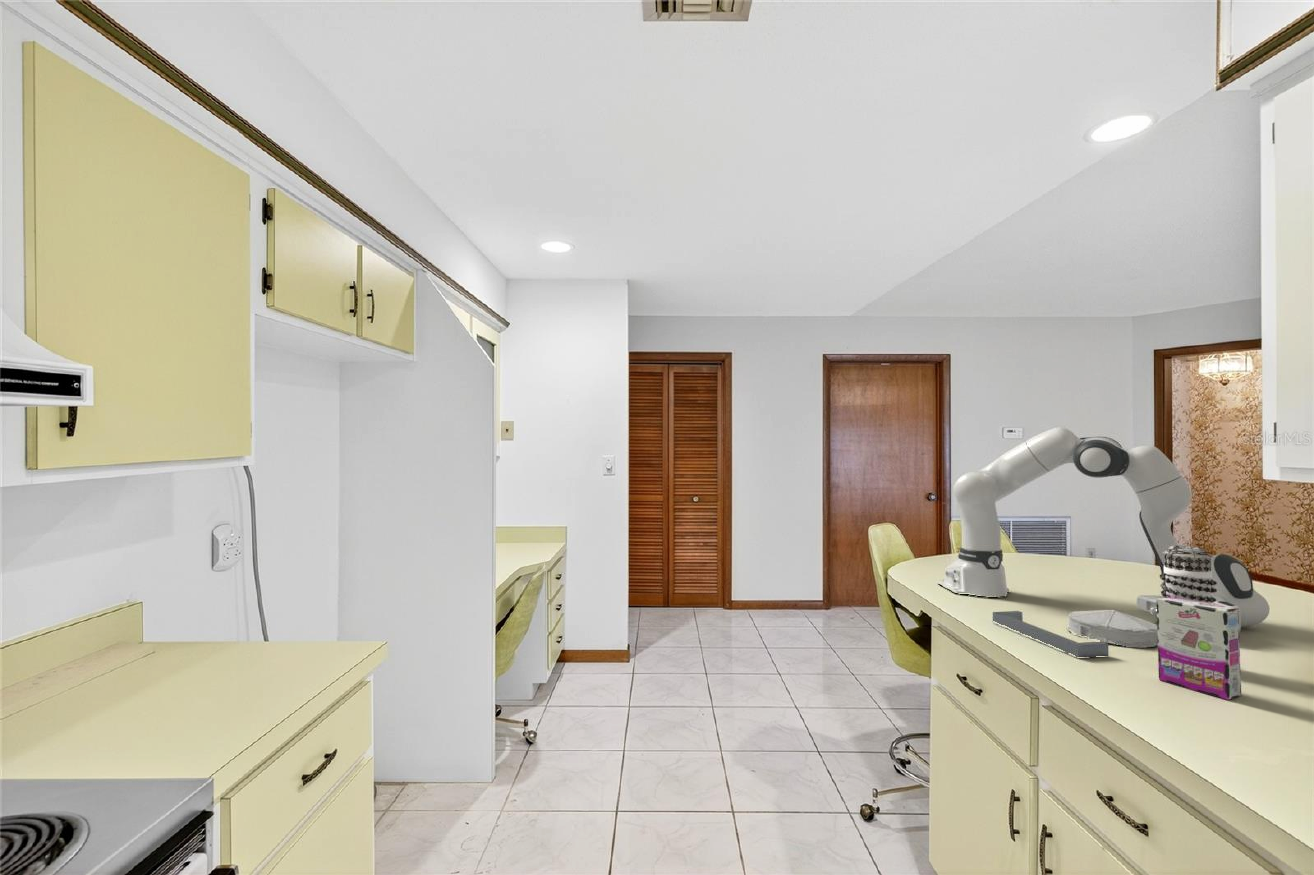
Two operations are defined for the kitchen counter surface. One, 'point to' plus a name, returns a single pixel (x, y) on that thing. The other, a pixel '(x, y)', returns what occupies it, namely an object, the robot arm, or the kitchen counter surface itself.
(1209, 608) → the candy bar box
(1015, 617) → the gray u-shaped pull
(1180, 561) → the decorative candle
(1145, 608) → the robot arm
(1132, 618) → the food container
